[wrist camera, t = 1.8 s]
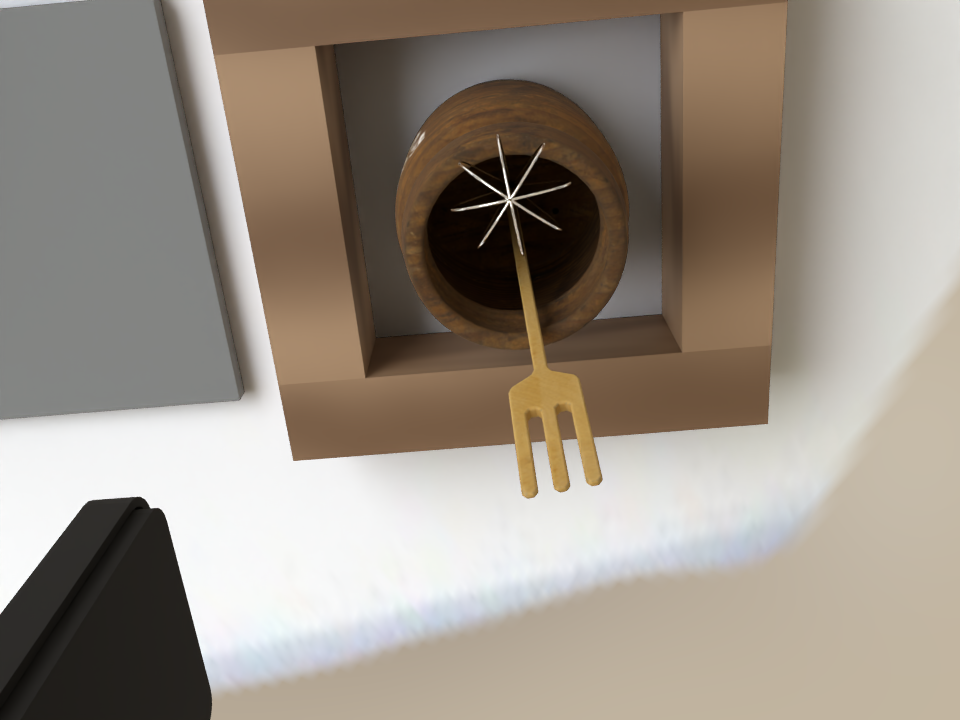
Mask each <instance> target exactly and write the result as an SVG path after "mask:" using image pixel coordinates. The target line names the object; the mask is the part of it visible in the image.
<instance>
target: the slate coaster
mask: <svg viewBox="0 0 960 720" xmlns="http://www.w3.org/2000/svg"><path fill="white" fill-rule="evenodd" d="M243 394H244V388H243V384H242V379H241V374H240V370H239V365H238V360H237V356H236V351H235V346H234V342H233V337H232V332H231V328H230V323H229V318H228V314H227V309H226V304H225V300H224V295H223V290H222V286H221V281H220V276H219V272H218V267H217V262H216V258H215V253H214V248H213V244H212V239H211V234H210V230H209V225H208V220H207V216H206V211H205V206H204V202H203V197H202V192H201V188H200V183H199V178H198V174H197V169H196V164H195V160H194V155H193V150H192V145H191V141H190V136H189V131H188V127H187V122H186V117H185V113H184V108H183V103H182V99H181V94H180V89H179V85H178V80H177V75H176V71H175V66H174V61H173V57H172V52H171V47H170V43H169V38H168V33H167V29H166V24H165V19H164V15H163V10H162V5H161V1H160V0H87V1H76V2H66V3H55V4H45V5H34V6H24V7H13V8H3V9H0V420H1V419H13V418H26V417H38V416H51V415H63V414H76V413H88V412H100V411H113V410H125V409H138V408H150V407H163V406H175V405H187V404H200V403H212V402H225V401H237V400H240V399H241V397H242V395H243Z"/></svg>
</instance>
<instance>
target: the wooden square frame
mask: <svg viewBox="0 0 960 720" xmlns="http://www.w3.org/2000/svg"><path fill="white" fill-rule="evenodd" d="M203 3H204V8H205V13H206V18H207V23H208V28H209V33H210V39H211V44H212V49H213V54H214V59H215V64H216V69H217V74H218V79H219V84H220V89H221V95H222V100H223V105H224V110H225V115H226V120H227V125H228V130H229V135H230V140H231V145H232V151H233V156H234V161H235V166H236V171H237V176H238V181H239V186H240V191H241V196H242V201H243V207H244V212H245V217H246V222H247V227H248V232H249V237H250V242H251V247H252V252H253V257H254V263H255V268H256V273H257V278H258V283H259V288H260V293H261V298H262V303H263V308H264V313H265V319H266V324H267V329H268V334H269V339H270V344H271V349H272V354H273V359H274V364H275V369H276V375H277V380H278V385H279V390H280V395H281V400H282V405H283V410H284V415H285V420H286V425H287V431H288V436H289V441H290V446H291V451H292V456H293V461H299V460H311V459H324V458H337V457H350V456H363V455H375V454H388V453H401V452H414V451H427V450H439V449H452V448H465V447H478V446H491V445H503V444H515V439H514V432H513V424H512V417H511V409H510V402H509V394H508V393H509V391H510V389H511V388H512V387H513V386H515V385H516V384H518V383H519V382H521V381H522V380H524V379H526V378H527V377H529V376H530V375H532V373H533V371H534V368H533V363H532V357H531V351H530V349H525V350H503V349H495V348H490V347H486V346H482V345H479V344H476V343H474V342H471V341H469V340H466V339H464V338H462V337H460V336H459V335H457V334H455V333H454V332H443V333H431V334H419V335H407V336H394V337H382V338H376V334H375V327H374V320H373V313H372V306H371V299H370V293H369V286H368V279H367V272H366V265H365V258H364V251H363V244H362V237H361V230H360V223H359V217H358V210H357V203H356V196H355V189H354V182H353V175H352V168H351V161H350V154H349V147H348V140H347V134H346V127H345V120H344V113H343V106H342V99H341V92H340V85H339V78H338V71H337V64H336V58H335V51H334V44H342V43H353V42H364V41H374V40H385V39H396V38H407V37H417V36H428V35H439V34H450V33H460V32H471V31H482V30H493V29H504V28H514V27H525V26H536V25H547V24H557V23H568V22H579V21H590V20H600V19H611V18H622V17H633V16H643V15H654V14H660V45H661V214H662V315H650V316H637V317H625V318H613V319H601V320H592V321H590V322H589V323H588V324H587V325H586V326H584V327H583V328H581V329H580V330H579V331H577V332H576V333H574V334H572V335H571V336H569V337H567V338H565V339H563V340H560V341H558V342H555V343H553V344H550V345H547V346H544V350H545V355H546V360H547V365H548V368H549V369H550V370H551V371H556V372H562V373H568V374H574V375H576V376H577V377H578V378H579V379H580V383H581V387H582V392H583V396H584V400H585V405H586V409H587V413H588V418H589V422H590V426H591V431H592V435H593V437H606V436H618V435H631V434H644V433H657V432H670V431H682V430H695V429H708V428H721V427H734V426H746V425H759V424H768V408H769V387H770V365H771V344H772V323H773V302H774V281H775V260H776V238H777V217H778V196H779V175H780V154H781V132H782V111H783V90H784V69H785V48H786V27H787V5H788V0H203ZM557 418H558V423H559V428H560V434H561V439H562V440H567V439H577V435H576V431H575V426H574V421H573V416H572V413H571V412H569V411H563V412H560V413H559V414H558V415H557ZM528 426H529V433H530V439H531V442H542V441H546V439H545V433H544V427H543V421H542V418H540V417H533V418H531V419H530V420H529V421H528Z"/></svg>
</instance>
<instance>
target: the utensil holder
mask: <svg viewBox="0 0 960 720" xmlns="http://www.w3.org/2000/svg"><path fill="white" fill-rule="evenodd" d="M395 221H396V231H397V236H398V241H399V245H400V248H401V251H402V254H403V257H404V261H405V265H406V268H407V271H408V274H409V277H410V280H411V282H412V284H413V286H414V288H415V291H416V292H417V294H418V296H419V298H420V299H421V301H422V302H423V304H424V305H425V307H426V308H427V309H428V310H429V312H430V313H431V314H432V315H433V316H434V317H435V318H436V319H437V320H438V321H439V322H440V323H441V324H443V325H444V326H445V327H447V328H448V329H449V330H451V331H452V332H454V333H455V334H457V335H459V336H460V337H462V338H464V339H466V340H469V341H471V342H474V343H476V344H479V345H482V346H486V347H490V348H495V349H503V350H525V349H530V351H531V357H532V363H533V368H534V371H533V373H532V375H530V376H529V377H527V378H526V379H524V380H522V381H521V382H519V383H518V384H516V385H515V386H513V387H512V388H511V389H510V391H509V393H508V394H509V402H510V409H511V417H512V424H513V432H514V439H515V446H516V454H517V461H518V469H519V476H520V484H521V491H522V495H523V496H524V497H526V498H528V499H529V498H534V497H535V496H536V495H537V493H538V487H537V480H536V473H535V467H534V460H533V453H532V446H531V439H530V433H529V426H528V421H529V420H530V419H531V418H533V417H540V418H542V421H543V427H544V433H545V439H546V444H547V450H548V456H549V462H550V468H551V473H552V479H553V485H554V489H555V490H557V491H558V492H565V491H567V490H568V489H569V487H570V481H569V476H568V471H567V465H566V460H565V455H564V450H563V444H562V439H561V434H560V428H559V423H558V418H557V415H558V414H559V413H560V412H563V411H569V412H571V413H572V416H573V421H574V426H575V431H576V435H577V440H578V445H579V449H580V454H581V459H582V464H583V468H584V473H585V478H586V482H587V483H588V484H589V485H591V486H596V485H599V484H600V483H601V481H602V474H601V470H600V465H599V461H598V457H597V452H596V448H595V444H594V439H593V435H592V431H591V426H590V422H589V418H588V413H587V409H586V405H585V400H584V396H583V392H582V387H581V383H580V379H579V378H578V377H577V376H576V375H574V374H568V373H562V372H556V371H551V370H550V369H549V368H548V365H547V360H546V355H545V350H544V346H547V345H550V344H553V343H555V342H558V341H560V340H563V339H565V338H567V337H569V336H571V335H572V334H574V333H576V332H577V331H579V330H580V329H581V328H583V327H584V326H586V325H587V324H588V323H589V322H590V321H592V320H593V319H594V318H595V317H596V316H597V315H598V314H599V312H600V311H601V310H602V309H603V308H604V307H605V305H606V304H607V303H608V301H609V300H610V298H611V297H612V295H613V293H614V291H615V290H616V288H617V286H618V283H619V281H620V279H621V276H622V273H623V270H624V266H625V263H626V257H627V251H628V241H629V226H628V222H629V201H628V193H627V187H626V183H625V179H624V176H623V173H622V170H621V167H620V165H619V162H618V160H617V158H616V156H615V154H614V152H613V150H612V148H611V147H610V145H609V143H608V142H607V140H606V139H605V137H604V136H603V134H602V133H601V132H600V130H599V129H598V128H597V126H596V125H595V124H594V123H593V121H592V120H591V119H590V118H589V117H588V115H587V114H586V113H585V112H584V111H583V110H582V109H581V108H580V107H578V106H577V105H576V104H575V103H574V102H572V101H571V100H570V99H569V98H567V97H565V96H564V95H562V94H561V93H559V92H557V91H555V90H553V89H551V88H549V87H546V86H544V85H541V84H537V83H534V82H529V81H523V80H512V79H508V80H494V81H489V82H484V83H480V84H477V85H474V86H472V87H469V88H467V89H465V90H462V91H460V92H459V93H457V94H455V95H453V96H452V97H451V98H449V99H448V100H446V101H445V102H444V103H443V104H441V105H440V106H439V107H438V108H437V109H436V110H435V111H434V112H433V113H432V114H431V115H430V116H429V118H428V119H427V120H426V121H425V123H424V124H423V125H422V127H421V128H420V130H419V132H418V133H417V135H416V137H415V139H414V141H413V143H412V145H411V147H410V150H409V152H408V154H407V157H406V160H405V163H404V166H403V169H402V172H401V175H400V179H399V183H398V188H397V195H396V204H395Z"/></svg>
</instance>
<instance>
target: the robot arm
mask: <svg viewBox="0 0 960 720" xmlns="http://www.w3.org/2000/svg"><path fill="white" fill-rule="evenodd" d="M211 710H212V696H211V690H210V685H209V681H208V678H207V674H206V670H205V666H204V662H203V658H202V654H201V651H200V647H199V643H198V639H197V635H196V631H195V628H194V624H193V620H192V616H191V612H190V608H189V604H188V601H187V597H186V593H185V589H184V585H183V581H182V578H181V574H180V570H179V566H178V562H177V558H176V554H175V551H174V547H173V543H172V539H171V535H170V531H169V527H168V524H167V520H166V517H165V515H164V513H163V512H162V510H161V509H159V508H151V509H150V507H149V505H148V503H147V502H146V500H145V499H143V498H142V497H130V498H116V499H102V500H92V501H89V502H87V503H86V504H85V505H84V506H83V507H82V509H81V510H80V511H79V513H78V514H77V515H76V517H75V518H74V519H73V520H72V522H71V523H70V524H69V526H68V527H67V528H66V530H65V531H64V532H63V533H62V535H61V536H60V537H59V539H58V540H57V541H56V543H55V544H54V545H53V547H52V548H51V549H50V550H49V552H48V553H47V554H46V556H45V557H44V558H43V560H42V561H41V562H40V563H39V565H38V566H37V567H36V569H35V570H34V571H33V573H32V574H31V575H30V576H29V578H28V579H27V580H26V582H25V583H24V584H23V586H22V587H21V588H20V590H19V591H18V592H17V593H16V595H15V596H14V597H13V599H12V600H11V601H10V603H9V604H8V605H7V606H6V608H5V609H4V610H3V612H2V613H1V614H0V720H210V717H211Z"/></svg>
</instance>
